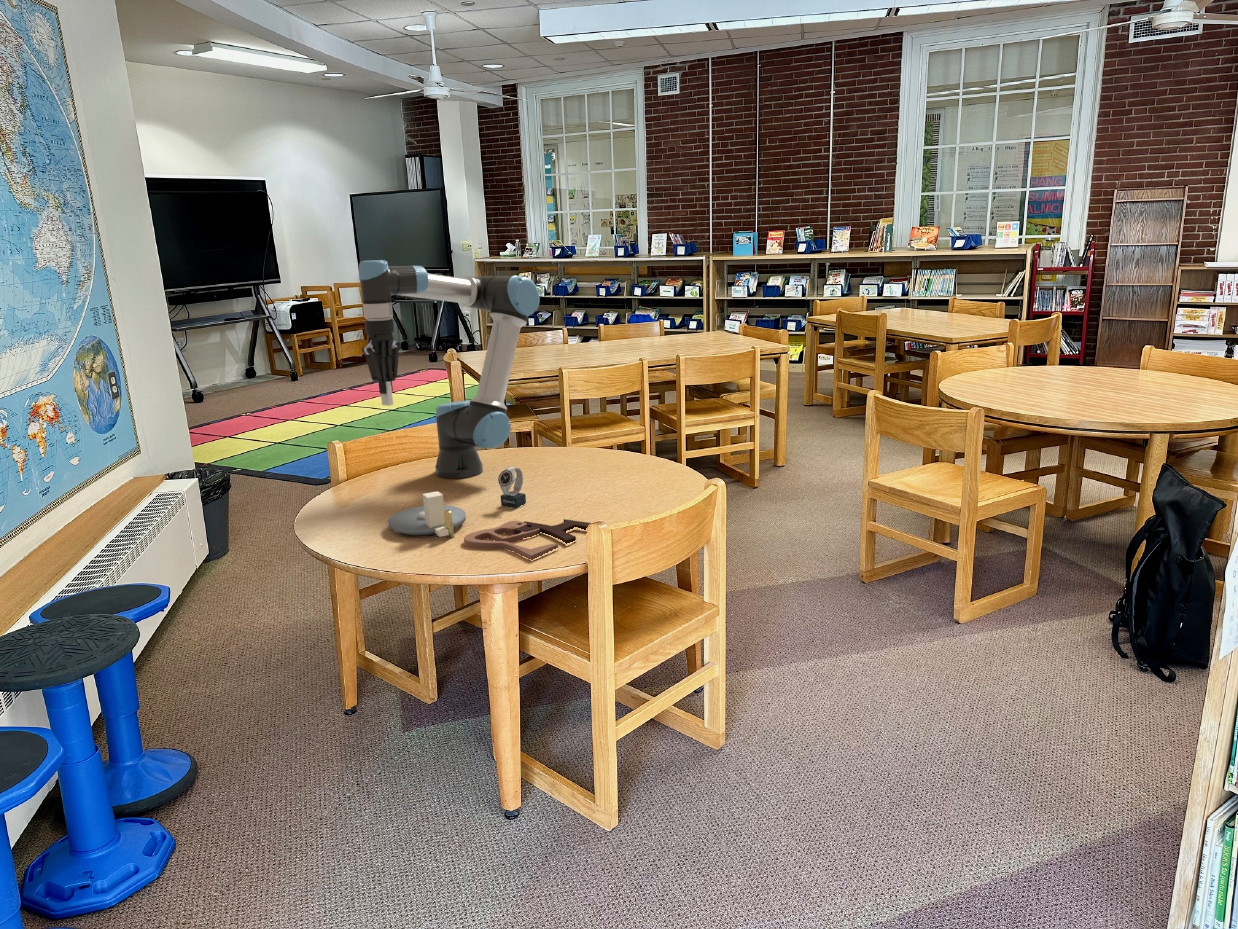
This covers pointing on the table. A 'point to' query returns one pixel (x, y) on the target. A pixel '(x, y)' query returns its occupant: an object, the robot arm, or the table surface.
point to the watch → (506, 481)
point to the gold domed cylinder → (449, 523)
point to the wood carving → (522, 536)
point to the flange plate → (419, 525)
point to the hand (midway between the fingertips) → (387, 404)
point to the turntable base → (421, 534)
